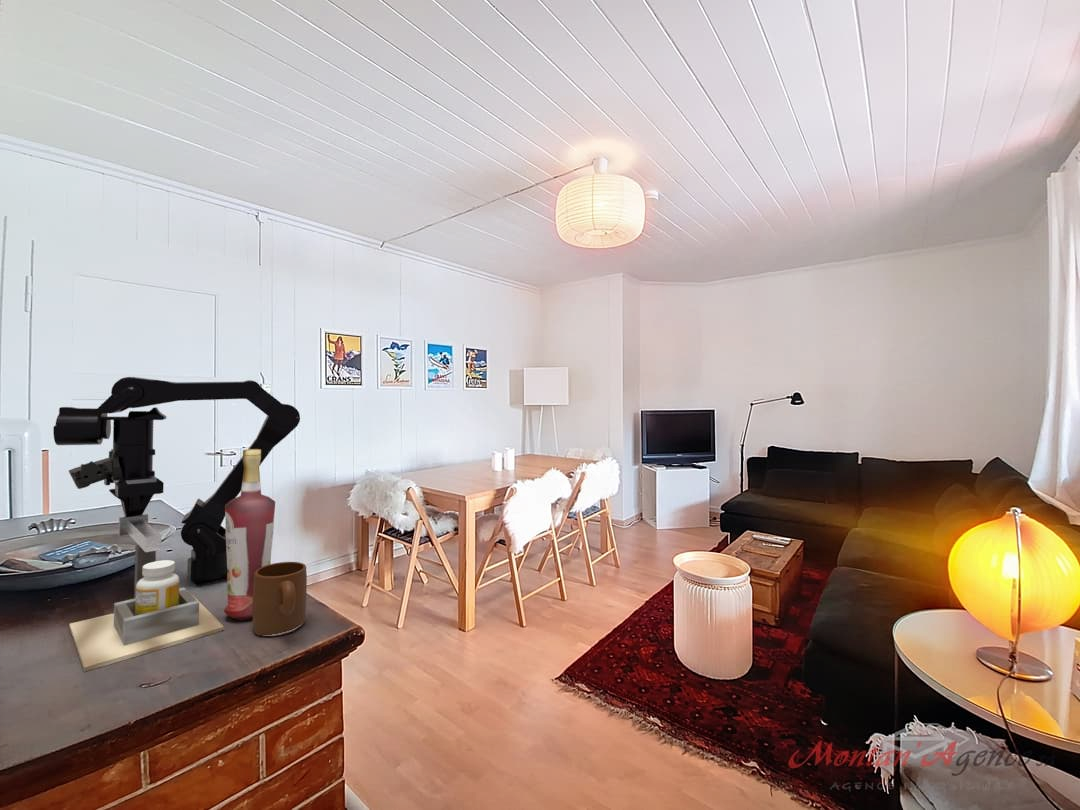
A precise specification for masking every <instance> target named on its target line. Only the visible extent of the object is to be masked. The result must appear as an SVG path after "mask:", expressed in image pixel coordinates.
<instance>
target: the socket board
mask: <svg viewBox="0 0 1080 810" xmlns="http://www.w3.org/2000/svg"><path fill="white" fill-rule="evenodd" d="M156 555H157V550H156V551H150V552H145V551H144V550H143V549H142V548H141V547H140V546H139V545H138V544H137V545H135V553H134V588H133V589H134V592H133V594H134V597H133V598H131V599H126V600H123V601H119V602H115V603H113V613H110V614H109V613H108V614H106V615H101V616H97V617H93V618H88V619H85V620H79V621H75V622H71V623H69V630H70V634H71V637H72V639H73V642H74V645H75V648H76V651H77V654H78V657H79V660H80V663H81V666H82V669H83V672H84V673H85V672H89V671H92V670H94V669H100V668H103V667H106V666H109V665H112V664H116V663H119V662H123V661H126V660H129V659H132V658H135V657H139V656H142V655H143V656H144V655H145V654H150V653H152V652H156V651H159V650H163V649H166V648H169V647H173V646H176V645H180V644H183V643H187V642H190V641H193V640H197V639H201V638H202V637H203V636H204V637H207V636H210V635H213V633H214V634H217V633H220V632H223V631H222V630H225V626H224V625H223V624H222V623H221V622H220V621H219V620H218V619H217V618H216V617H215V616H214V615H213V614H212V613H211V612H210V611H209V610H208V609H207V608H206V607H205V606H204V605H203V604H202V602H200V600H198V599H197V597H195V596H194V595H193V594H191V593H190V592H189V591H188V590H187V589H186V588H185V587H179V602H178V605H177V606H173V607H169V608H165V609H161V610H157V611H153V612H149V613H145V614H141V615H137V616H135V603H136V585H137V583H138V581H139V580H141V579H142V578H144V576H143V575H142V569H143V566H144V565H145V564H148V563H151V562H155V561H157V559H156V558H157V556H156ZM219 631H220V632H219ZM206 635H207V636H206ZM204 637H203V638H204Z"/></svg>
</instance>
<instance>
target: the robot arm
mask: <svg viewBox="0 0 1080 810" xmlns="http://www.w3.org/2000/svg"><path fill="white" fill-rule="evenodd" d="M211 400H212V401H214V400H216V401H218V400H247V401H248V402H250V403H251V404H252V405H253V406H255V407H256V408H257V409H258V410H260V411H261V412H263V414H265V415H266V417H265V419H264V421H263V424H262V425H261V426H260V427H261V428H260V430H259V432H258V433H257V436H256V438H255V439H254V440H253V442H252V443H251V445H250V446H249V447H248V448H247V449H261V461H260V466H261V465H262V463H263V462H264V461H265V459H266V458H267V457H268V455H269V454H270V453H271V451H272V450H273V449H274V448H275V447H276V446H278V444H279V443H281V442H282V441H283V440H284V439H285V438H286V437H287V436H288V435H290V433H291V432H293V431H294V430H295V429H296V428H297V427H298V425H299V424H300V421H301V416H300V412H299V410H298V409H297V407H294V406H293V405H290V404H289V403H288V404H287V403H281V402H280V401H279V400H278V399H277V398H275V397H274V396H273V395H271V393H269V392H268V391H267V390H265V389H264V388H263V387H261V385H260V384H259V383H258V382H257V381H255V380H252V379H251V380H248V379H247V380H244V381H243V380H242V381H196V382H195V381H190V382H189V381H187V382H182V381H179V382H177V381H176V382H175V381H170V380H169V381H168V380H167V381H166V380H160V379H152V378H146V377H144V378H143V377H139V376H138V377H135V376H126V377H122V378H120V379H118V380H117V381H115V383H114V384H113V386H112V387H111V395H110V396H109V397H108V398H107V399H106V400H104V402H102V403H101V404H100V406H98V408H95V407H93V408H88V407H86V408H83V407H81V408H80V407H73V406H61V407H59V408H58V415H57V418H56V419H55V420H56V421H55V425H53V429H52V431H53V433H52V434H53V439H54V443H55V444H56V445H57V446H93V445H94V446H95V445H96V446H97V445H102V444H103V440H109V439H110V437H111V434H112V435H113V437H112V448H111V449H110V451H108V457H106V458H104V459H98V460H96V461H89V462H87V463H81V464H80V466H77V467H73V468H71V469H69V470H68V473H69V475H70V477H71V479H72V481H73V483H74V484H75V487H76V488H77V489H78V490H81V489H85V488H87V487H90V486H91V485H93V484H95V483H99V482H102V481H103V484H104V485H105V486H111V484H114V488H111V489H108V491H109V492H110V494H112V495H113V496H114V497H115V498H117V499H118V500H119V501H120V504H121V507H122V510H123V515H124V517H127V516H135V515H143V514H144V513H145V511H146V509H147V507H148V505H149V503H150V502H151V500H152V498H153V497H154V495H160V494H164V485H165V484H164V482H163V481H162V480H160V479H159V478H158V477H156V476H155V475H156V472H155V470H153V460H154V456H156V449H155V448H154V421H163V420H167V415H166V414H164V413H162V412H161V411H160V409H159V408H158V407H152V408H151V409H150V410H148V411H147V410H130V411H129V412H128V415H127V416H108V414H115V413H122V412H123V411H126V410H128V409H137V408H144V407H151V406H155V405H156V406H157V405H161V404H167V403H173V402H178V401H180V402H181V401H211ZM112 421H113V423H112ZM111 423H112V424H113V425H111ZM112 426H113V428H112ZM112 429H113V431H112ZM111 431H112V432H113V433H111ZM243 474H244V464H243V455H242V456H241V458H239V460H238V461H237V463H236V464H235V465H234V466H233V468H232V469H231V470H230V472H229V473H228V475H226V477H225V478H224V480H223V481H222V483H220V484H219V486H218V488H217V489H216V490H215V492H214V493H213V494H212V495H211V496H210V497H209V498H207V499H206V500H205V501H203V500H202V499H200V498H198V499H197V500H196V501H195V503H194V506H193V507H192V508H191V509H190V511H188V512H187V513H186V514H184V516H183V519H182V520H181V524H183V526H182V527H181V531H180V537H181V539H182V541H183V543H185V544H187V545H188V546H190V547H192V549H191V551H190V553H191V554H190V557H189V558H188V559H187V571H186V572H187V573H186V574H187V576H186V577H187V578H186V579H187V580H188V581H189V582H190V583H192V585H194V587H203V586H207V585H211V584H215V583H220V582H225V581H227V550H226V527H224V526H222V525H223V521H224V520H225V505H226V504H227V503H229V502H230V501H231V500H232V499H235V498H237V497H238V495H239V494H241V489H242V481H243Z"/></svg>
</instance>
